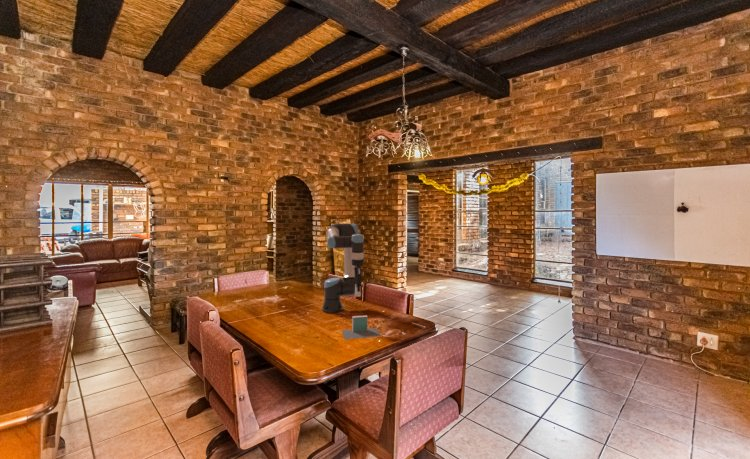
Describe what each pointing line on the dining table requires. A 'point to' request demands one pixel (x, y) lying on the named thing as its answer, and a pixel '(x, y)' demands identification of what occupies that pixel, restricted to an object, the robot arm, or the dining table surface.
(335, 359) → the dining table surface
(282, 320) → the dining table surface
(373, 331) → the mat
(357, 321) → the tile
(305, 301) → the dining table surface
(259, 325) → the dining table surface
